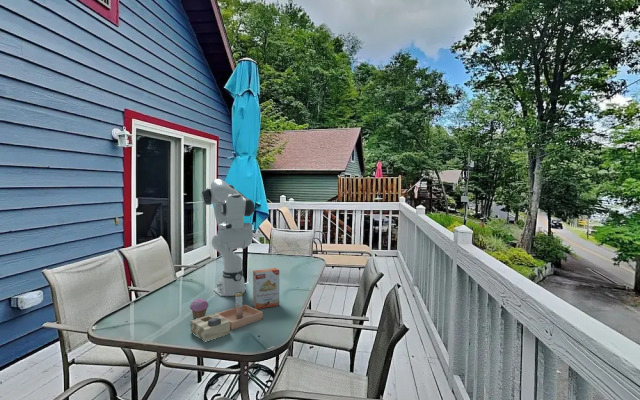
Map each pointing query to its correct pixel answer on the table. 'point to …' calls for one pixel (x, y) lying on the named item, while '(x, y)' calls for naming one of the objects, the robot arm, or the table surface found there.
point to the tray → (248, 316)
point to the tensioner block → (210, 327)
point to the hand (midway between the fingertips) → (236, 249)
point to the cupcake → (199, 308)
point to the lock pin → (239, 305)
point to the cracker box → (265, 288)
